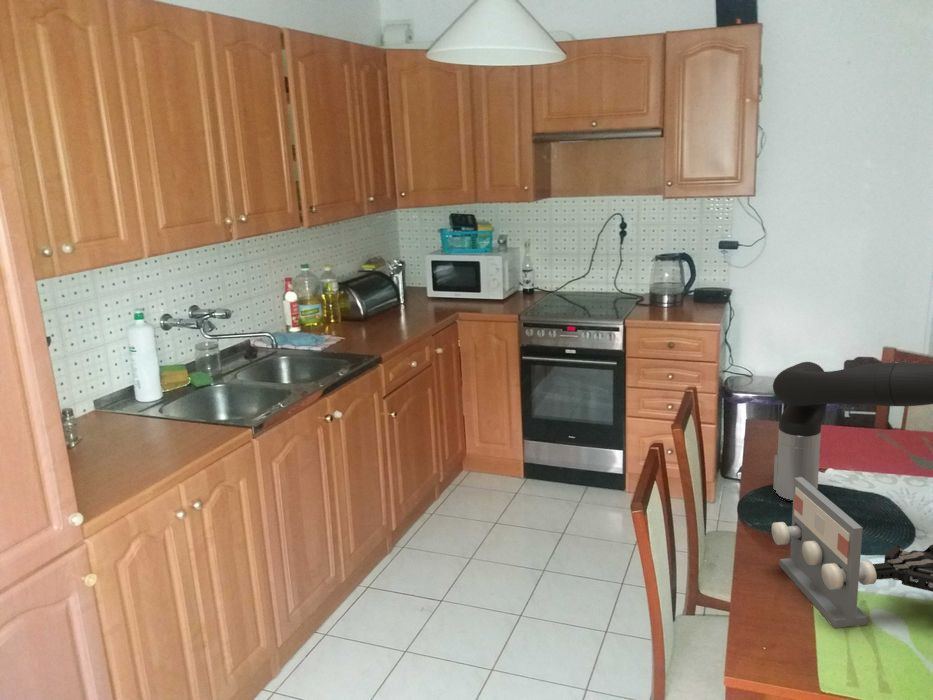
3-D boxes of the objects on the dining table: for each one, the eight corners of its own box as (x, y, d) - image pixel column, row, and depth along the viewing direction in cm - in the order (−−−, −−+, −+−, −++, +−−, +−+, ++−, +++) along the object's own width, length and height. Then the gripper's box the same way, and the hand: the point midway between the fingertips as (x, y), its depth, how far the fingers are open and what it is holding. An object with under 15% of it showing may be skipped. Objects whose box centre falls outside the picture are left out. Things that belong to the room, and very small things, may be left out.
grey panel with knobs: (807, 563, 156) (812, 476, 151) (866, 625, 136) (875, 526, 131) (779, 566, 156) (783, 478, 151) (834, 628, 136) (841, 529, 131)
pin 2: (862, 576, 139) (863, 555, 138) (876, 590, 135) (878, 568, 133) (820, 580, 138) (822, 559, 137) (833, 594, 134) (835, 572, 133)
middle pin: (840, 553, 147) (842, 533, 145) (853, 565, 142) (855, 544, 141) (801, 557, 146) (802, 537, 145) (813, 569, 142) (814, 548, 141)
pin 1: (808, 534, 154) (809, 514, 153) (819, 545, 150) (820, 525, 149) (771, 538, 154) (772, 518, 153) (781, 549, 149) (782, 529, 148)
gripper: (939, 526, 142) (850, 535, 141) (991, 563, 130) (894, 574, 129) (935, 562, 144) (847, 571, 143) (986, 602, 132) (890, 612, 131)
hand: (870, 572), depth 136 cm, fingers closed
